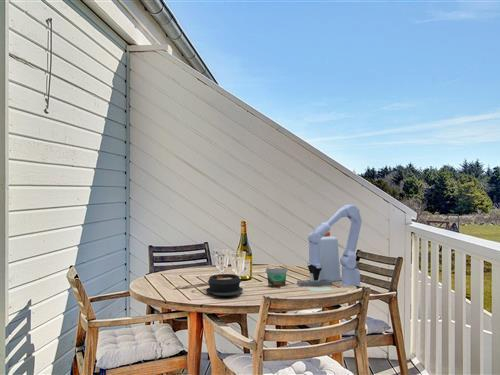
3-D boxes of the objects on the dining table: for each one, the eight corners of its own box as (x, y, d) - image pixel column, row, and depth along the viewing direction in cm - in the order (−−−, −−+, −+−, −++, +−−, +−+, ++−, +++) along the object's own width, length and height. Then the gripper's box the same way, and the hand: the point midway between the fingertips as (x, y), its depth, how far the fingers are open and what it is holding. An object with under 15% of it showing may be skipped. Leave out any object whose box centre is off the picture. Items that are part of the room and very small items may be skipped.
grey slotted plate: (328, 283, 217) (328, 278, 217) (332, 286, 211) (332, 280, 211) (297, 285, 215) (297, 279, 215) (300, 287, 209) (300, 281, 209)
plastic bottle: (308, 278, 234) (307, 231, 235) (330, 276, 238) (330, 230, 239) (319, 283, 219) (318, 233, 220) (343, 281, 223) (342, 232, 224)
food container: (269, 288, 207) (269, 269, 207) (265, 286, 212) (265, 267, 213) (291, 287, 210) (290, 268, 210) (287, 284, 216) (286, 266, 216)
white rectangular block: (317, 284, 215) (317, 273, 215) (319, 285, 212) (319, 274, 212) (309, 284, 214) (309, 273, 214) (311, 285, 211) (311, 274, 211)
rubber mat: (328, 287, 208) (328, 286, 208) (334, 291, 200) (334, 290, 200) (307, 288, 206) (307, 287, 206) (311, 292, 198) (311, 291, 198)
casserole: (204, 288, 207) (204, 272, 208) (238, 287, 211) (238, 271, 211) (208, 300, 183) (208, 282, 183) (247, 298, 186) (247, 280, 187)
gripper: (303, 252, 220) (303, 277, 220) (311, 256, 206) (311, 282, 205) (315, 252, 221) (315, 276, 221) (324, 256, 207) (324, 281, 206)
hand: (314, 279), depth 213 cm, fingers open, 5 cm apart
